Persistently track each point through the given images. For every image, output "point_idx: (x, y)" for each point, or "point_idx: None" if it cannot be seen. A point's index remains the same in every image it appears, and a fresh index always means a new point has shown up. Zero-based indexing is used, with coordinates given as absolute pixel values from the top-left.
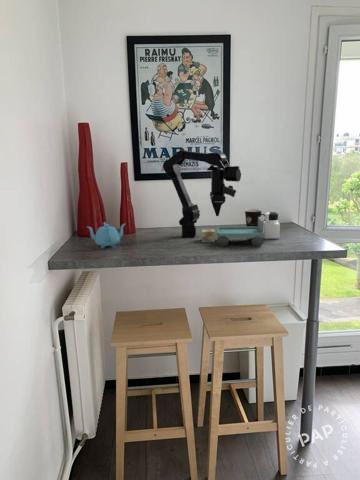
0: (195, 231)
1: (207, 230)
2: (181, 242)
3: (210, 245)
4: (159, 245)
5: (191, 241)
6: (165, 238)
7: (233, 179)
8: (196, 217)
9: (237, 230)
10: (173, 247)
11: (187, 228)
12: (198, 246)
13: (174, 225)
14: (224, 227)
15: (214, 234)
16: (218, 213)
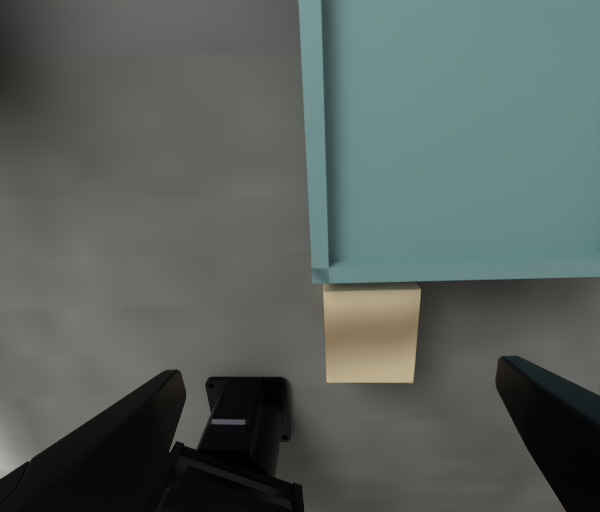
0: (255, 398)
1: (362, 345)
2: (396, 430)
3: (490, 281)
4: (450, 508)
5: (375, 387)
6: (307, 495)
7: None
8: (240, 506)
9: (394, 52)
10: (502, 457)
11: (276, 462)
12: (503, 348)
13: (4, 476)
14: (326, 208)
15: (414, 281)
16: (567, 393)
